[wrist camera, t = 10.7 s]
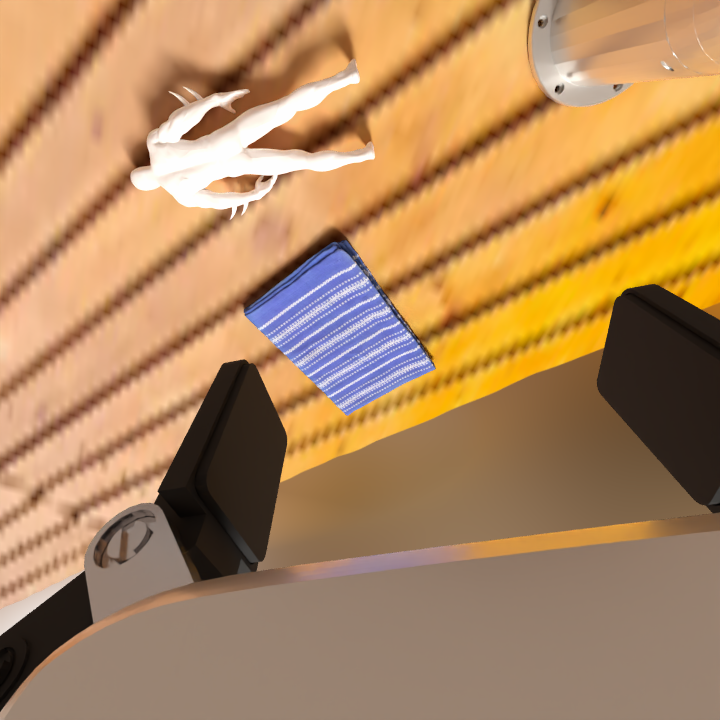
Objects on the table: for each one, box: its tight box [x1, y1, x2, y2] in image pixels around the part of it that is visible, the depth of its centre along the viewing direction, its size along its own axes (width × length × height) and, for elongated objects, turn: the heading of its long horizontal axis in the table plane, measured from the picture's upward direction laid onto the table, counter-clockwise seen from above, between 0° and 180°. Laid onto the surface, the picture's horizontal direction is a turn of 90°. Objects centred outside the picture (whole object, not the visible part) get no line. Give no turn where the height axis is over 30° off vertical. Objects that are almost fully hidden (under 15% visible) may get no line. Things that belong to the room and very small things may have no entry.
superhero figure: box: [131, 59, 375, 219], centre depth 36 cm, size 12×6×25 cm
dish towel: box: [244, 240, 436, 415], centre depth 50 cm, size 17×24×3 cm
